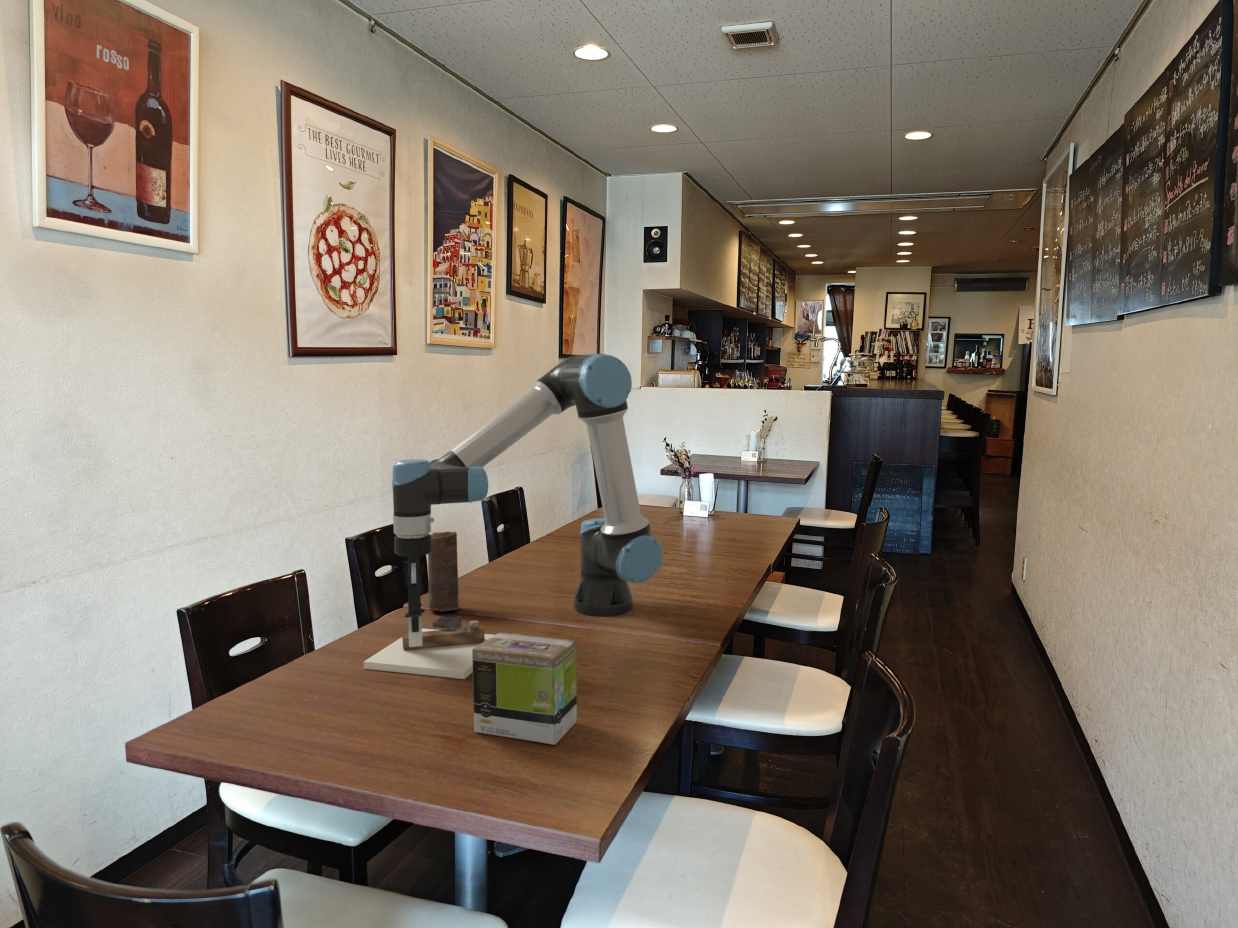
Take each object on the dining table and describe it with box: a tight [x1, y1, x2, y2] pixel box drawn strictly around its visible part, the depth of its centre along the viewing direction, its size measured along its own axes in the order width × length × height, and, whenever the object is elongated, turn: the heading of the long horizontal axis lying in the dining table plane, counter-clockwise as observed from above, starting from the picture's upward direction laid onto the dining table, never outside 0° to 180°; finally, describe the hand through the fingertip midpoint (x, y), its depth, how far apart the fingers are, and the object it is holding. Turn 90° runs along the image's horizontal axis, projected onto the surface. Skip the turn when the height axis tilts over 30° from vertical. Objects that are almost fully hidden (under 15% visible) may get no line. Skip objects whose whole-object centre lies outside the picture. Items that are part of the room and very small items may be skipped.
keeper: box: [432, 614, 462, 630], centre depth 175 cm, size 4×6×4 cm
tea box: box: [472, 631, 578, 746], centre depth 134 cm, size 15×10×15 cm
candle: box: [427, 531, 460, 613], centre depth 199 cm, size 8×7×20 cm
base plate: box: [363, 627, 495, 680], centre depth 169 cm, size 22×22×2 cm
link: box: [401, 620, 486, 650], centre depth 171 cm, size 17×4×4 cm, turn 109°
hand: (415, 645), depth 167 cm, fingers closed
